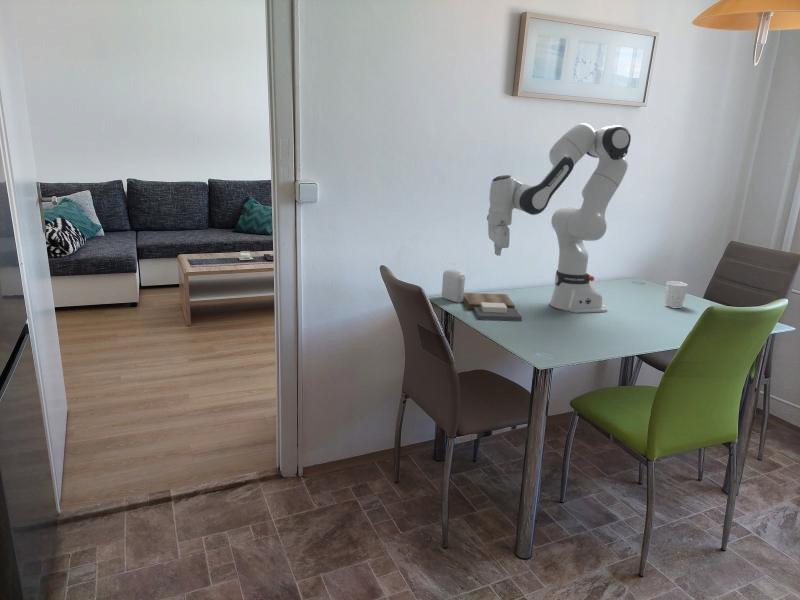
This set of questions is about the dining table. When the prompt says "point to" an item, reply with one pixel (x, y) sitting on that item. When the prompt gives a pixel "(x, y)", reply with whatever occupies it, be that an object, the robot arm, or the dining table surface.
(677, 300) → the white cup
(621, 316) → the dining table surface
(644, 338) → the dining table surface
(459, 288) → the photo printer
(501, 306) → the cream card
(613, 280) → the dining table surface
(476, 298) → the walnut deck
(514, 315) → the charcoal mat
